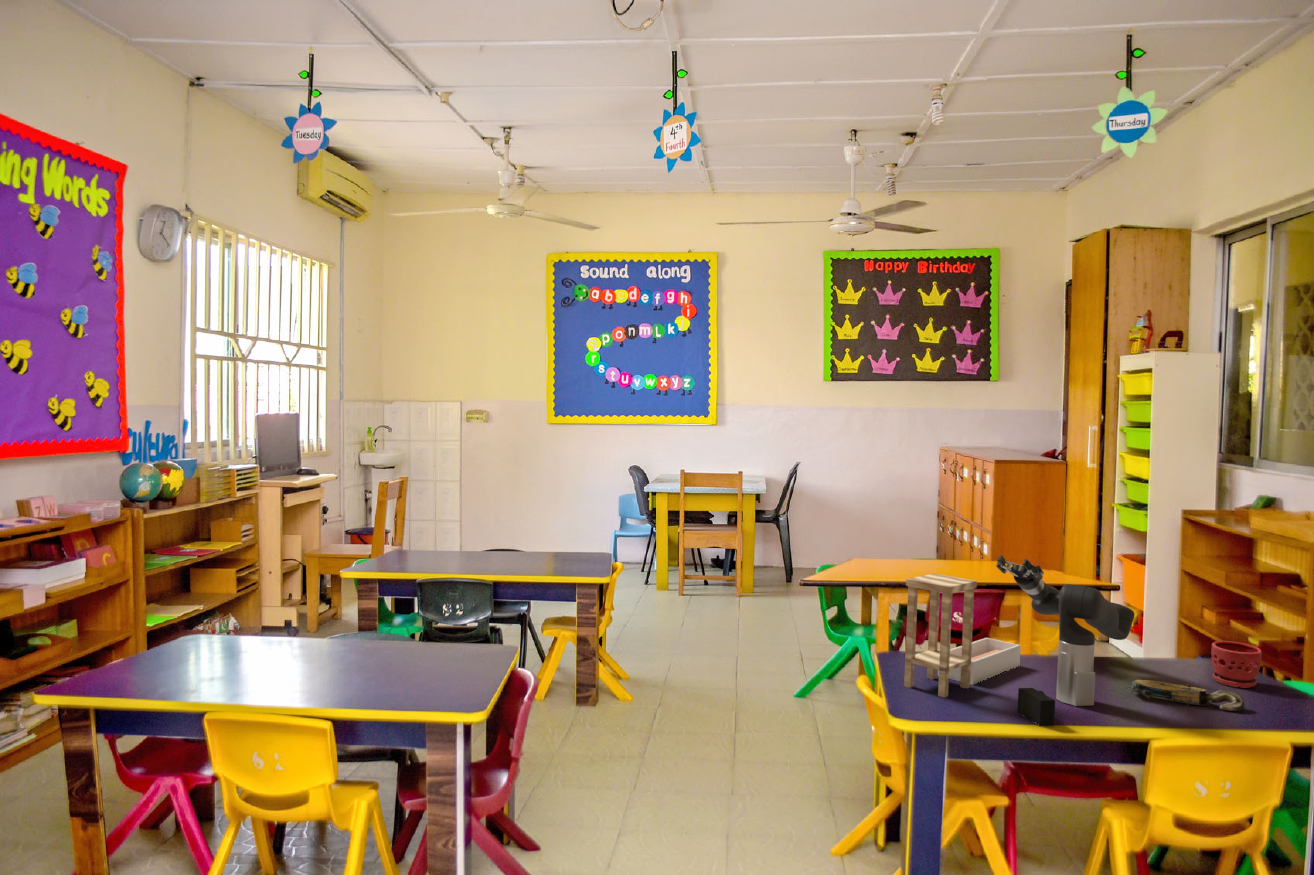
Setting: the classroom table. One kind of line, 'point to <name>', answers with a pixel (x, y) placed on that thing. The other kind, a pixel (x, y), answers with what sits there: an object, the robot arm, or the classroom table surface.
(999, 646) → the grey bin
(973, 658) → the brown rectangular block
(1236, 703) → the pulley block
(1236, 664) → the plant pot
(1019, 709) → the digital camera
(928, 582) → the tall stand
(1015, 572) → the robot arm
